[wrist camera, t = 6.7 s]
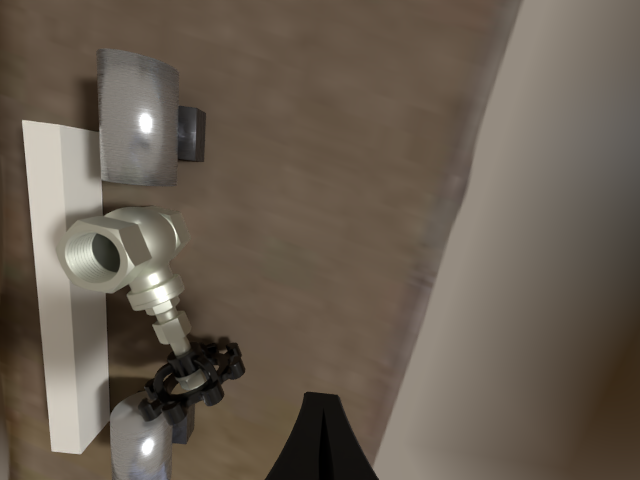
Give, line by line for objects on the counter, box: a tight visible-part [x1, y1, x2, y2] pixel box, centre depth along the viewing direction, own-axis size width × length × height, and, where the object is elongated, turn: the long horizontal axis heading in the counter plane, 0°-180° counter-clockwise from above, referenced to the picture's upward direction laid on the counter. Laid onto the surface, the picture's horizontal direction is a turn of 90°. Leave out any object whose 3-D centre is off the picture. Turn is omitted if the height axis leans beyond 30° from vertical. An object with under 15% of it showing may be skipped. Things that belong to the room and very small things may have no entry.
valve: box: [56, 206, 245, 426], centre depth 18 cm, size 7×7×12 cm
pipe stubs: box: [96, 49, 206, 480], centre depth 19 cm, size 27×4×5 cm, turn 173°
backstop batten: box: [22, 120, 110, 454], centre depth 20 cm, size 22×2×3 cm, turn 173°
